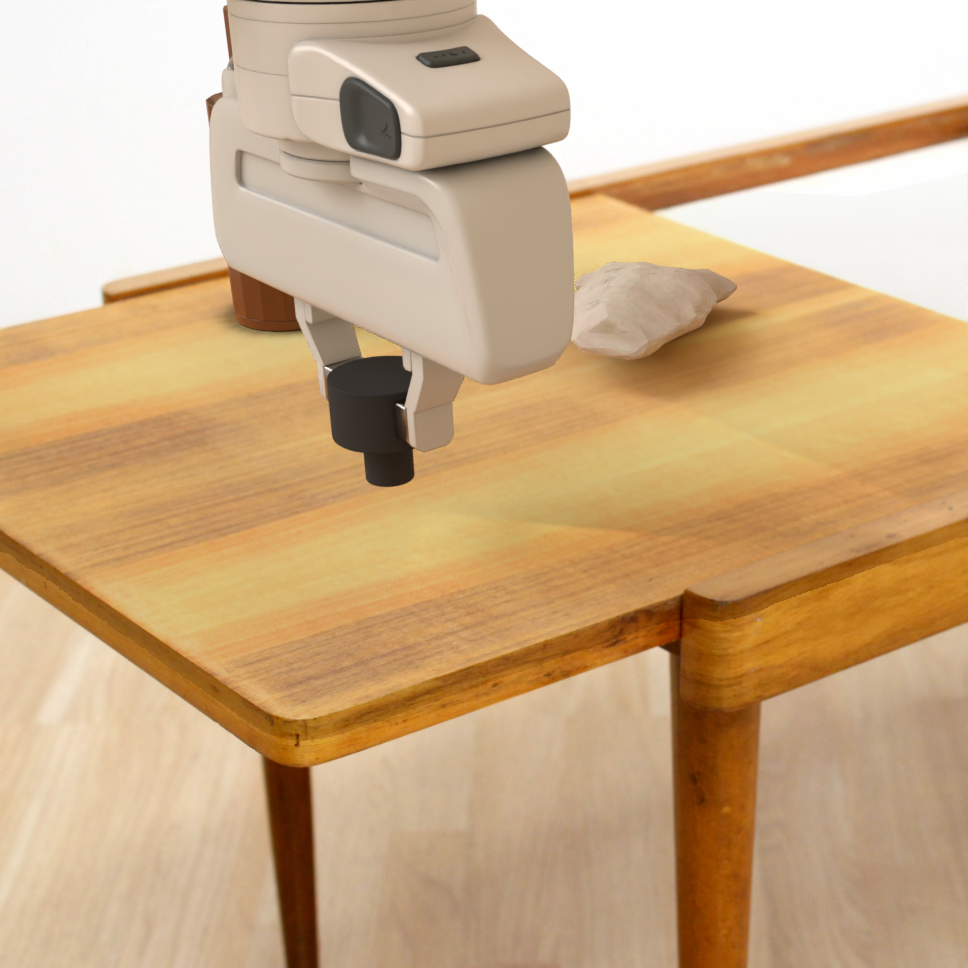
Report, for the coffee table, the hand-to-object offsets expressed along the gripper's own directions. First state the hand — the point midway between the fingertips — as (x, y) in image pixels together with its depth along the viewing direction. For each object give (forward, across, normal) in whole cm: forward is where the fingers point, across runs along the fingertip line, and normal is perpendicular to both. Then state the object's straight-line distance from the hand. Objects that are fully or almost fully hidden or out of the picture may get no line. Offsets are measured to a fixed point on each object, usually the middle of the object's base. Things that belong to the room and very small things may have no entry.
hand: (386, 422), depth 62 cm
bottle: (+6, -32, +13) cm, 35 cm away
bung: (+2, 0, 0) cm, 2 cm away
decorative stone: (+6, -13, +24) cm, 28 cm away
